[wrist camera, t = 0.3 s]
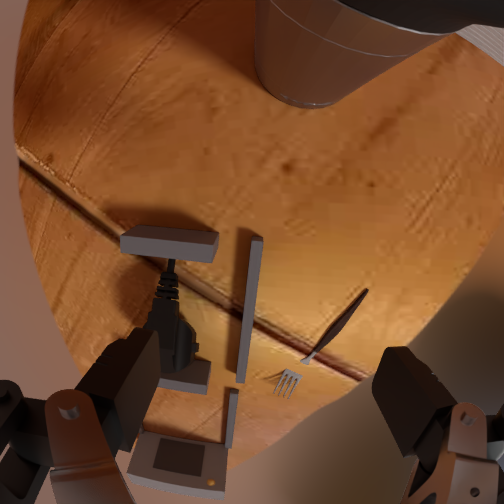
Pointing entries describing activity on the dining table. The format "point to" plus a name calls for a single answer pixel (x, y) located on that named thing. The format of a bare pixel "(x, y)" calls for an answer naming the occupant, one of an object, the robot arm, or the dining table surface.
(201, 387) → the plug holster
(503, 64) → the stack of papers
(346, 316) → the fork
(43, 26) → the dining table surface
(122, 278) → the dining table surface
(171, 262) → the power plug
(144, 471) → the socket block
